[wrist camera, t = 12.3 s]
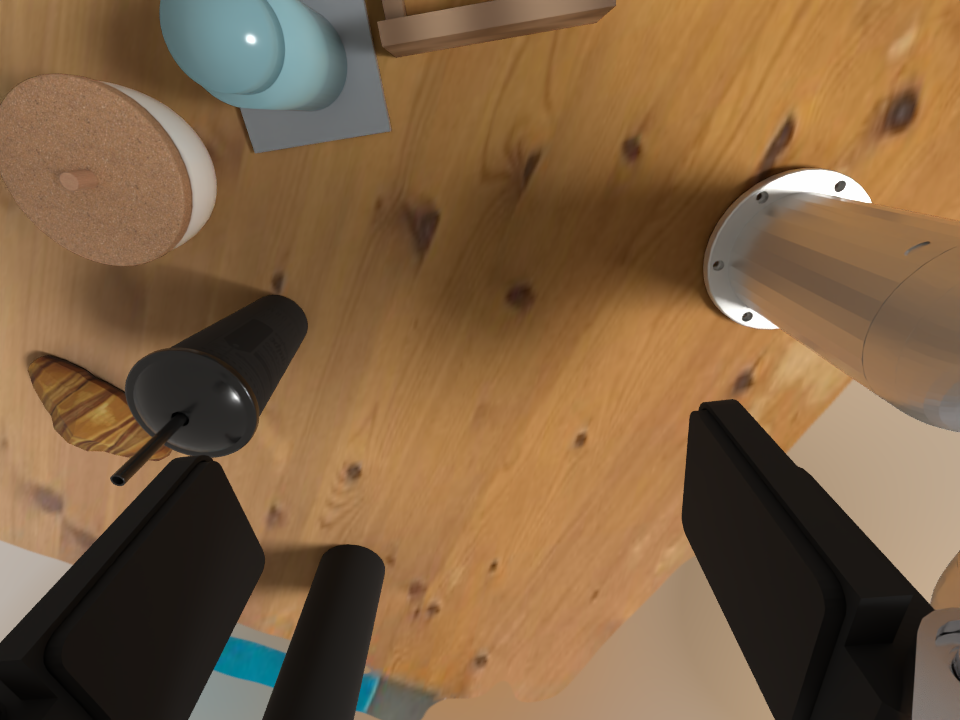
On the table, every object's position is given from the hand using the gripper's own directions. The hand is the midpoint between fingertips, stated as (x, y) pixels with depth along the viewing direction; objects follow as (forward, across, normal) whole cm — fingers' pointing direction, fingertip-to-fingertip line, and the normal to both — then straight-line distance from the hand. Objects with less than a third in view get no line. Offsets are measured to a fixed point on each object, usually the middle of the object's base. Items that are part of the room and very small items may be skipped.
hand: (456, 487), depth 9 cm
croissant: (+30, +37, +12) cm, 49 cm away
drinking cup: (+30, +18, +6) cm, 36 cm away
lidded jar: (+30, +22, -7) cm, 38 cm away
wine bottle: (+30, +20, +37) cm, 52 cm away
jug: (+29, +10, -13) cm, 34 cm away
